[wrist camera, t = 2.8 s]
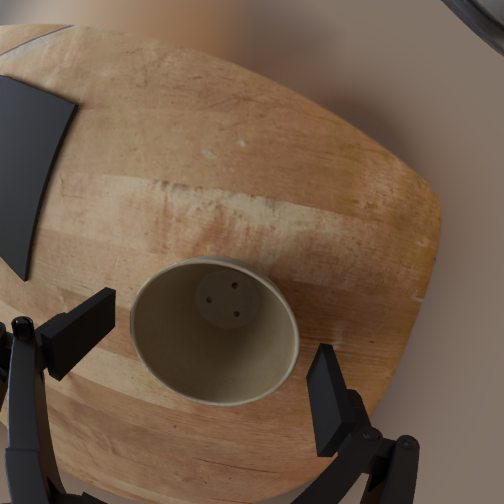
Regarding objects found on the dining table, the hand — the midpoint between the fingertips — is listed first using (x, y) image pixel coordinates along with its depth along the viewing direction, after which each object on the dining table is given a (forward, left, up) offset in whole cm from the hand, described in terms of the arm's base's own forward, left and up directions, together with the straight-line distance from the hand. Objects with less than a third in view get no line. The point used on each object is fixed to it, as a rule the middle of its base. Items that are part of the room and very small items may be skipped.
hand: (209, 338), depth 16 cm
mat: (+30, -7, -6) cm, 31 cm away
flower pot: (0, 0, -6) cm, 6 cm away
